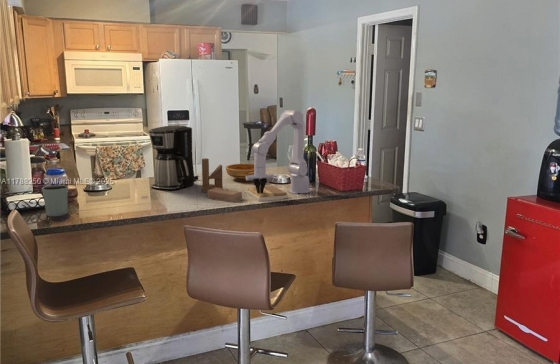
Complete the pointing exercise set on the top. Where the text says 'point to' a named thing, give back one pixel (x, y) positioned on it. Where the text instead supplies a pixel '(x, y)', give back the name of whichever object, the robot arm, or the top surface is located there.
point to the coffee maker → (173, 157)
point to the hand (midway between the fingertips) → (259, 193)
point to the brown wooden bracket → (211, 176)
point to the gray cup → (55, 200)
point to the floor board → (277, 195)
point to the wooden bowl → (240, 171)
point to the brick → (224, 195)
